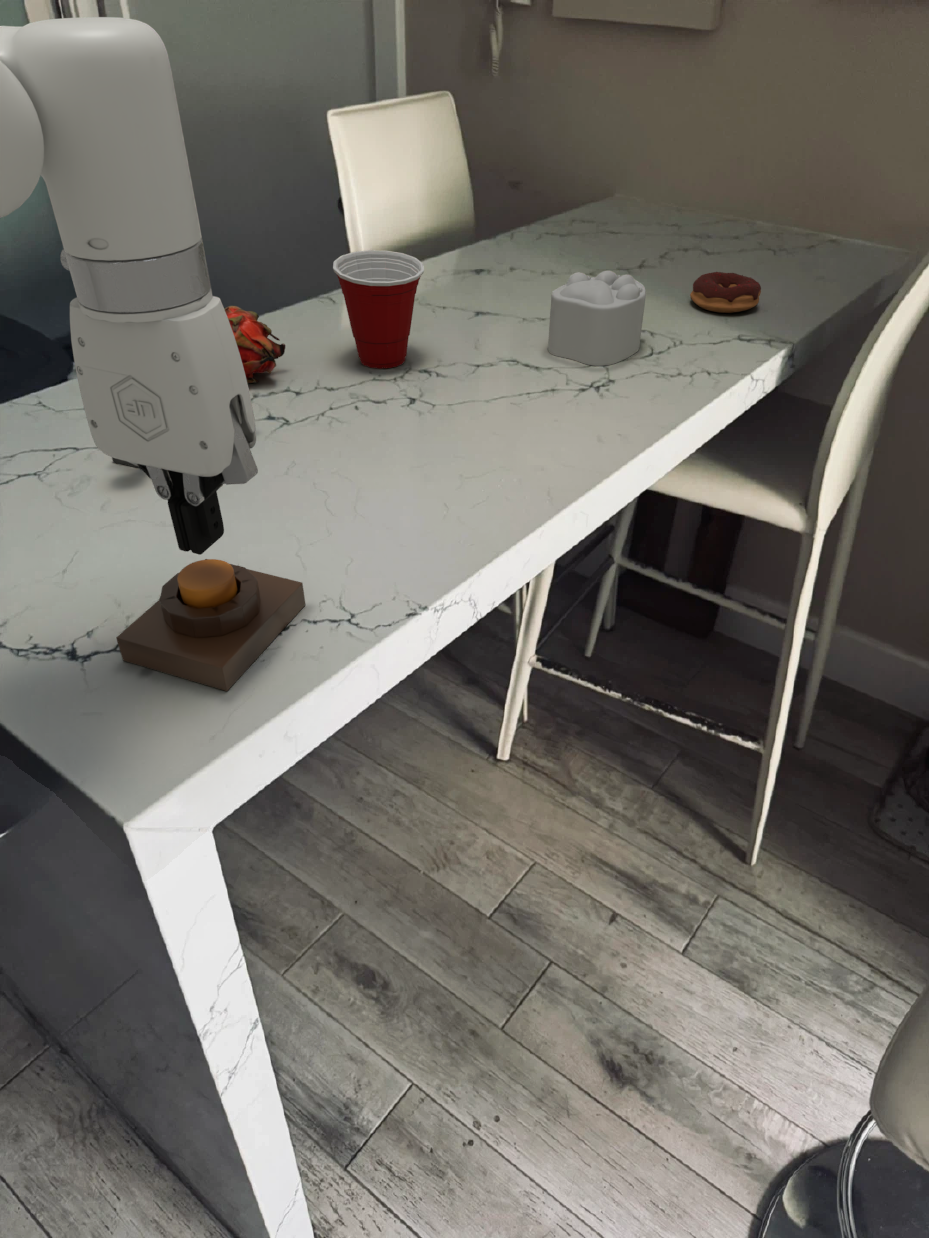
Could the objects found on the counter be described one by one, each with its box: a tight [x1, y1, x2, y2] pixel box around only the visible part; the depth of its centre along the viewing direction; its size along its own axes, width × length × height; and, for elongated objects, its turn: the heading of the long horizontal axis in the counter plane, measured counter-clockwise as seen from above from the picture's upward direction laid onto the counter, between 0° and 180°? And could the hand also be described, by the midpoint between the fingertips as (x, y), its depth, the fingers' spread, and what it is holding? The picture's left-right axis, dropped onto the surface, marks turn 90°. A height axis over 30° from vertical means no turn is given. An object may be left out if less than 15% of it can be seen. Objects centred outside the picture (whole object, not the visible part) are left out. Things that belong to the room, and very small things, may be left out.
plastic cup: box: [332, 249, 425, 370], centre depth 106 cm, size 11×11×12 cm
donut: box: [689, 271, 762, 314], centre depth 126 cm, size 10×10×4 cm
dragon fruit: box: [224, 305, 286, 384], centre depth 104 cm, size 8×8×12 cm
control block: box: [115, 558, 306, 692], centre depth 65 cm, size 11×9×4 cm
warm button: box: [177, 558, 237, 609], centre depth 64 cm, size 4×4×2 cm
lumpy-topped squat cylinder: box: [547, 270, 647, 367], centre depth 112 cm, size 10×13×9 cm
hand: (202, 542), depth 62 cm, fingers closed
